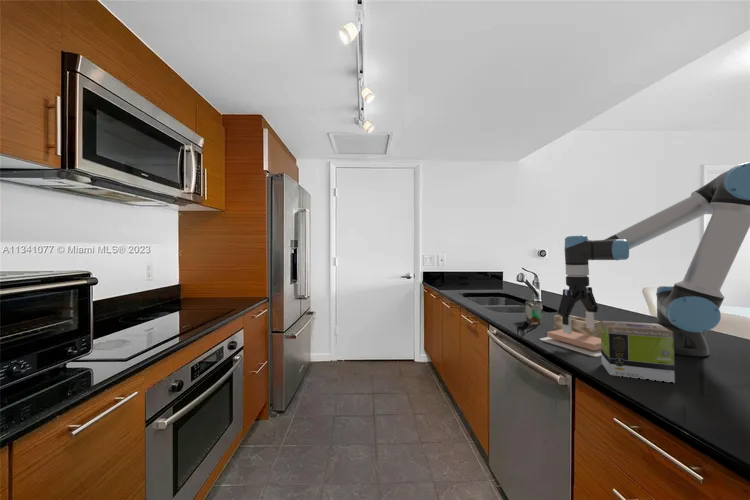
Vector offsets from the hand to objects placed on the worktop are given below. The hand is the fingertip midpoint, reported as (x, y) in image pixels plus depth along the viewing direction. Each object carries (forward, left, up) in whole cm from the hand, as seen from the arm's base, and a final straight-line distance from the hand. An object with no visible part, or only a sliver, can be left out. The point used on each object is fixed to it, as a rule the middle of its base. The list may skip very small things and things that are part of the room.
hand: (579, 330), depth 118 cm
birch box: (+9, -13, -6) cm, 17 cm away
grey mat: (0, 0, -6) cm, 6 cm away
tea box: (-24, +11, -6) cm, 27 cm away
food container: (+30, -14, -6) cm, 34 cm away
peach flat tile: (+1, 0, -5) cm, 5 cm away
